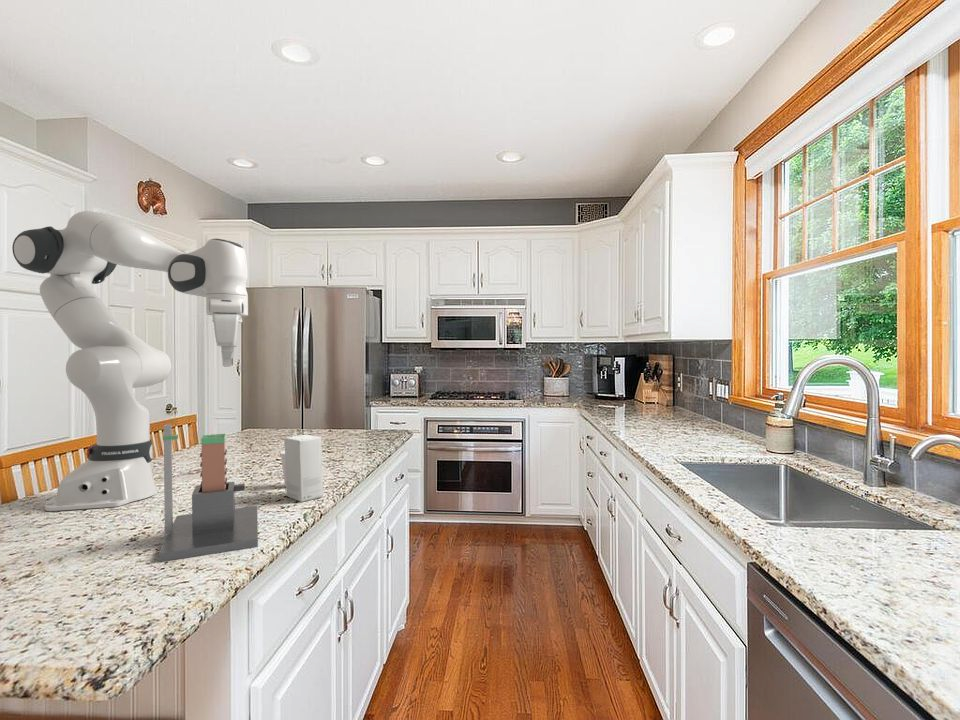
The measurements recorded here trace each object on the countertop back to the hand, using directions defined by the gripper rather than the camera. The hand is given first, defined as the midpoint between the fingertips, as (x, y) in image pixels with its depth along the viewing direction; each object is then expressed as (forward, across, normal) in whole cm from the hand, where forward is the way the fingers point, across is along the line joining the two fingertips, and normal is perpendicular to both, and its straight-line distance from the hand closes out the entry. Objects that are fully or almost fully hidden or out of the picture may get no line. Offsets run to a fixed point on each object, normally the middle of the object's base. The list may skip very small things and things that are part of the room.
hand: (228, 366), depth 115 cm
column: (+26, +17, -2) cm, 31 cm away
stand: (+34, +17, -2) cm, 38 cm away
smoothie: (+34, -14, +15) cm, 40 cm away
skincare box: (+34, -2, +17) cm, 38 cm away
